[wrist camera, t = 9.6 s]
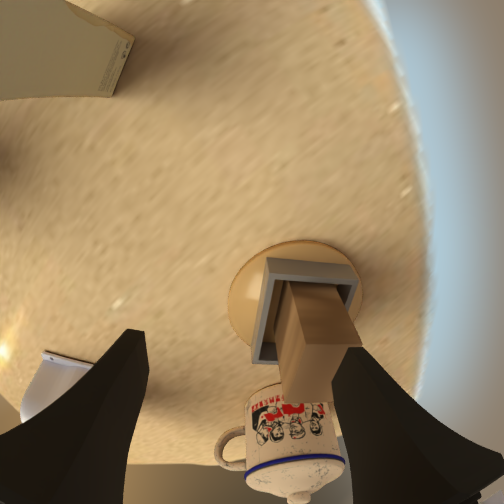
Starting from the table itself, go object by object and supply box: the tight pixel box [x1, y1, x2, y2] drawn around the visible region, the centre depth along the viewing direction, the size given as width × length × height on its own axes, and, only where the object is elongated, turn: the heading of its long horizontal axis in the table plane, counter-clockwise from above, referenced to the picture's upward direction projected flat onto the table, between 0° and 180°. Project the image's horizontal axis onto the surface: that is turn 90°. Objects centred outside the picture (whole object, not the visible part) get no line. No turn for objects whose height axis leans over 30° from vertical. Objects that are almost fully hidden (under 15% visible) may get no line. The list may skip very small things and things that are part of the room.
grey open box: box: [228, 240, 363, 365], centre depth 20 cm, size 10×10×3 cm
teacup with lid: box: [214, 384, 345, 504], centre depth 22 cm, size 12×9×12 cm
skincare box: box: [0, 0, 135, 101], centre depth 7 cm, size 6×4×12 cm
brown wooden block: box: [273, 280, 363, 404], centre depth 17 cm, size 3×5×7 cm, turn 173°
